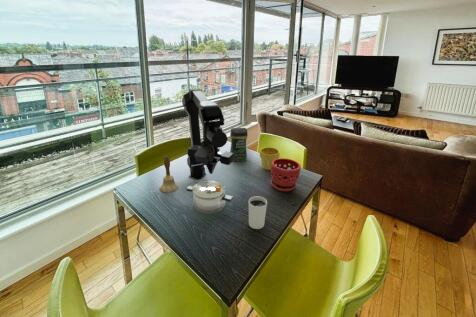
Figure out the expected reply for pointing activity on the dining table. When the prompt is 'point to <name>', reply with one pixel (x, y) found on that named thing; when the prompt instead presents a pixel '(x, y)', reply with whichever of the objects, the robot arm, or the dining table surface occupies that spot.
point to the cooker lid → (208, 189)
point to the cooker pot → (209, 203)
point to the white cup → (257, 212)
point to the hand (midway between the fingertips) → (211, 173)
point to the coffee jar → (239, 143)
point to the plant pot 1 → (268, 156)
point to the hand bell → (168, 179)
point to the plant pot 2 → (284, 174)
